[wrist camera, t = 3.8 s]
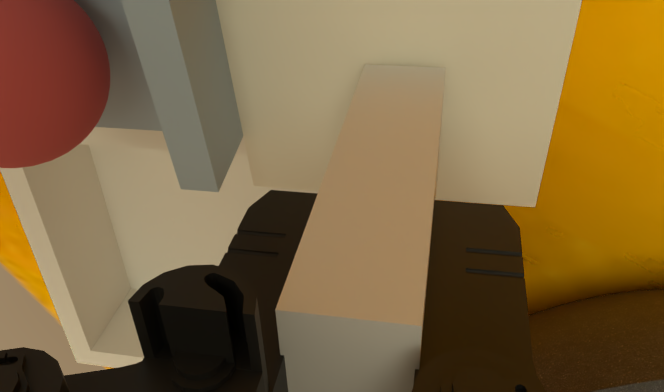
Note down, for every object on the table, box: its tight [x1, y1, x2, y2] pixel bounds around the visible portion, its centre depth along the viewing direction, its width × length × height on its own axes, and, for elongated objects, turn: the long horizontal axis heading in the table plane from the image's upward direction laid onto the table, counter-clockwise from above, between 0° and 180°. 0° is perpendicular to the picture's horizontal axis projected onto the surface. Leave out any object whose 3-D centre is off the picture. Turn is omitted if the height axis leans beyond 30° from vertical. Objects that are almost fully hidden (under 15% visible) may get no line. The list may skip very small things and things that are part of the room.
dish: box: [0, 127, 319, 368], centre depth 22 cm, size 11×11×4 cm
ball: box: [0, 0, 110, 168], centre depth 11 cm, size 4×4×4 cm
